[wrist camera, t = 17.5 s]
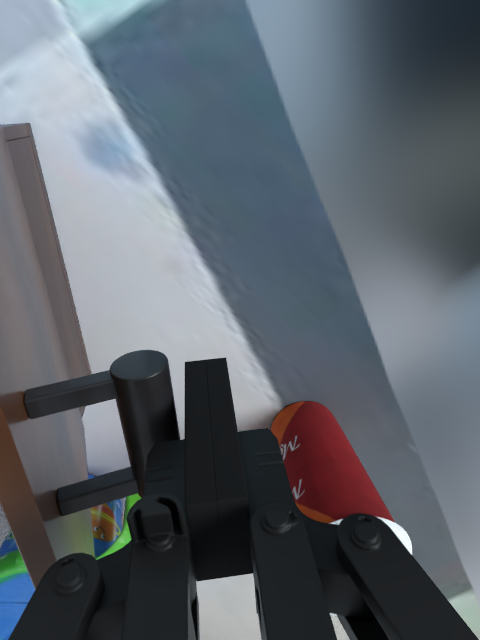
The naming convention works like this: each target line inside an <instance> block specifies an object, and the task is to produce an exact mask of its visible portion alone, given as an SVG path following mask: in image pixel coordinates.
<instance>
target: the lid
mask: <svg viewBox="0 0 480 640" xmlns="http://www.w3.org/2000/svg"><path fill="white" fill-rule="evenodd" d="M115 398H116V402H117V407H118V411H119V416H120V420H121V425H122V429H123V434H124V438H125V442H126V447H127V451H128V456H129V460H130V465H131V467H128V468H125V469H121V470H118V471H114V472H111V473H108V474H104V475H101V476H97V477H94V478H91V479H88V468H87V456H86V444H85V432H84V426H83V422H82V419H81V415H80V411H79V407H83V406H87V405H91V404H95V403H99V402H103V401H107V400H111V399H115ZM175 440H180V434H179V428H178V421H177V415H176V409H175V402H174V396H173V389H172V383H171V376H170V370H169V363H168V359H167V357H166V356H165V355H164V354H163V353H161V352H158V351H154V350H140V351H134V352H131V353H128V354H125V355H123V356H121V357H119V358H118V359H116V360H115V361H114V362H113V363H112V365H111V367H110V370H108V371H104V372H100V373H95V374H91V375H87V376H82V377H78V378H74V379H71V378H70V374H69V370H68V367H67V363H66V359H65V356H64V352H63V348H62V345H61V341H60V337H59V333H58V330H57V326H56V322H55V319H54V315H53V311H52V307H51V304H50V300H49V296H48V293H47V289H46V285H45V282H44V278H43V274H42V270H41V267H40V263H39V259H38V256H37V252H36V248H35V244H34V241H33V237H32V233H31V230H30V226H29V222H28V219H27V215H26V211H25V207H24V204H23V200H22V196H21V193H20V189H19V185H18V181H17V178H16V174H15V170H14V167H13V163H12V159H11V156H10V152H9V148H8V144H7V141H6V137H5V133H4V130H3V127H0V505H1V508H2V510H3V513H4V515H5V517H6V520H7V522H8V525H9V527H10V530H11V532H12V535H13V537H14V539H15V542H16V544H17V547H18V549H19V552H20V554H21V557H22V559H23V561H24V564H25V566H26V569H27V571H28V574H29V576H30V579H31V581H32V583H33V586H34V588H35V590H36V588H37V586H38V584H39V582H40V580H41V579H42V577H43V575H44V574H45V573H46V571H47V570H48V569H49V567H50V566H51V565H53V564H54V563H55V562H56V561H58V560H59V559H60V558H63V557H65V556H67V555H70V554H73V553H82V552H83V553H86V554H90V555H92V556H93V557H94V558H95V552H94V540H93V528H92V516H91V508H92V507H95V506H98V505H102V504H105V503H108V502H111V501H114V500H118V499H121V498H124V497H127V496H131V495H134V494H137V493H138V495H139V496H140V497H141V498H143V490H144V482H145V472H146V462H147V455H148V453H149V452H150V450H151V449H152V447H153V446H154V444H155V443H158V442H167V441H175Z"/></svg>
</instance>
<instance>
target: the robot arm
mask: <svg viewBox="0 0 480 640" xmlns="http://www.w3.org/2000/svg"><path fill="white" fill-rule="evenodd" d="M126 519H127V523H128V527H129V532H130V536H131V541H130V542H129V543H128V544H126V545H125V546H124V547H123V548H121V549H119V550H117V551H116V552H114V553H111V554H109V555H107V556H104V557H102V558H100V559H98V560H96V559H95V558H94V557H93V556H92V555H90V554H86V553H83V552H82V553H73V554H70V555H67V556H65V557H63V558H60V559H59V560H58V561H56V562H55V563H54V564H53V565H51V566H50V567H49V569H48V570H47V571H46V573H45V574H44V575H43V577H42V579H41V580H40V582H39V584H38V586H37V588H36V590H35V591H34V593H33V595H32V597H31V599H30V600H29V602H28V604H27V606H26V608H25V610H24V611H23V613H22V615H21V617H20V619H19V621H18V622H17V624H16V626H15V628H14V630H13V632H12V633H11V635H10V637H9V639H8V640H200V638H199V603H198V597H197V591H196V580H197V581H202V580H209V579H216V578H223V577H230V576H237V575H244V574H251V573H253V575H254V583H255V596H256V609H257V613H258V617H259V624H260V631H261V639H262V640H337V638H336V634H335V631H334V627H333V623H332V620H331V616H330V613H332V614H337V617H338V618H339V620H340V622H341V624H342V626H343V628H344V629H345V631H346V633H347V635H348V637H349V639H350V640H479V639H478V638H477V637H476V636H475V634H474V633H473V632H472V631H471V629H470V628H469V627H468V626H467V624H466V623H465V622H464V620H463V619H462V618H461V617H460V615H459V614H458V613H457V612H456V610H455V609H454V608H453V607H452V605H451V604H450V603H449V602H448V600H447V599H446V598H445V596H444V595H443V594H442V593H441V591H440V590H439V589H438V588H437V586H436V585H435V584H434V583H433V581H432V580H431V579H430V577H429V576H428V575H427V574H426V572H425V571H424V570H423V569H422V567H421V566H420V565H419V564H418V562H417V561H416V560H415V559H414V557H413V556H412V555H411V553H410V552H409V551H408V550H407V548H406V547H405V546H404V545H403V543H402V542H401V541H400V540H399V538H398V537H397V536H396V535H395V533H394V532H393V531H392V529H391V528H390V527H389V526H388V525H387V524H386V523H385V522H384V521H382V520H381V519H379V518H377V517H375V516H373V515H370V514H364V513H357V514H351V515H349V516H347V517H346V518H344V519H342V521H341V522H340V524H339V525H336V524H329V523H323V522H319V521H315V520H313V519H311V518H309V517H307V516H306V515H305V514H303V513H302V512H301V511H300V510H299V508H298V507H297V506H296V503H295V501H294V498H293V494H292V490H291V487H290V483H289V479H288V476H287V472H286V468H285V465H284V462H283V457H282V454H281V450H280V446H279V443H278V439H277V437H276V436H275V435H274V434H273V433H272V432H271V431H270V430H269V429H268V428H265V429H257V430H248V431H240V432H238V431H237V425H236V418H235V412H234V406H233V399H232V393H231V387H230V380H229V374H228V368H227V361H226V358H218V359H209V360H200V361H191V362H185V439H183V440H175V441H167V442H158V443H155V444H154V446H153V447H152V449H151V450H150V452H149V453H148V455H147V462H146V472H145V482H144V490H143V498H141V499H140V500H138V501H136V503H135V504H134V505H133V506H132V507H131V508H130V510H129V512H128V515H127V518H126Z"/></svg>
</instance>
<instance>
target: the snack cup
mask: <svg viewBox="0 0 480 640" xmlns="http://www.w3.org/2000/svg"><path fill="white" fill-rule="evenodd" d="M94 477H96V476H93V475H90V474H88V479H91V478H94ZM140 499H141V497H140V496H139V495H138V493H137V494H134V495H131V496H127V497H126V503H125V511H124V519H123V513H122V503H121V500H120V499H118V500H114V501H111V502H108V503H105V504H102V505H98V506H95V507H92V508H91V516H92V528H93V540H94V552H95V559H96V560H98V559H100V558H102V557H104V556H107V555H109V554H111V553H114V552H116V551H117V550H119V549H121V548H123V547H124V546H125V545H126V544H128V543H129V542H130V541H131V536H130V532H129V527H128V523H127V519H126V518H127V515H128V512H129V510H130V508H131V507H132V506H133V505H134V504H135V503H136V501H138V500H140ZM34 591H35V588H34V586H33V583H32V581H31V579H30V576H29V574H28V571H27V569H26V566H25V564H24V561H23V559H22V557H21V554H20V552H19V549H18V547H17V544H16V542H15V539H14V537H13V535H12V532H11V530H10V532H9V534H8V535H7V537H6V538H5V540H4V542H3V543H2V546H1V548H0V640H8V639H9V637H10V635H11V633H12V632H13V630H14V628H15V626H16V624H17V622H18V621H19V619H20V617H21V615H22V613H23V611H24V610H25V608H26V606H27V604H28V602H29V600H30V599H31V597H32V595H33V593H34Z"/></svg>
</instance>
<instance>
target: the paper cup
mask: <svg viewBox="0 0 480 640" xmlns="http://www.w3.org/2000/svg"><path fill="white" fill-rule="evenodd" d="M271 432H272V433H273V434H274V435H275V436H276V437H277V439H278V443H279V446H280V450H281V454H282V457H283V462H284V465H285V468H286V472H287V476H288V479H289V483H290V487H291V490H292V494H293V498H294V501H295V503H296V506H297V507H298V508H299V510H300V511H301V512H302V513H303V514H305V515H306V516H307V517H309V518H311V519H313V520H315V521H319V522H323V523H329V524H336V525H339V524H340V522H341V521H342V519H344V518H346V517H347V516H349V515H351V514H357V513H364V514H370V515H373V516H375V517H377V518H379V519H381V520H382V521H384V522H385V523H386V524H387V525H388V526H389V527H390V528H391V529H392V531H393V532H394V533H395V535H396V536H397V537H398V538H399V540H400V541H401V542H402V543H403V545H404V546H405V547H406V548H407V550H408V551H409V552H410V553H411V555H412V544H411V540H410V538H409V536H408V534H407V533H406V531H405V530H404V529H403V528H402V527H401V526H399V525H398V524H396V523H395V522H394V520H393V518H392V516H391V515H390V513H389V511H388V509H387V508H386V506H385V504H384V502H383V501H382V499H381V497H380V495H379V493H378V492H377V490H376V488H375V486H374V485H373V483H372V481H371V479H370V478H369V476H368V474H367V472H366V471H365V469H364V467H363V465H362V464H361V462H360V460H359V458H358V457H357V455H356V453H355V451H354V450H353V448H352V446H351V445H350V443H349V441H348V439H347V438H346V436H345V434H344V432H343V431H342V429H341V427H340V426H339V424H338V422H337V421H336V419H335V418H334V416H333V415H332V413H331V412H330V411H329V409H328V408H326V407H325V406H324V405H322V404H320V403H317V402H312V401H302V402H297V403H294V404H291V405H289V406H287V407H286V408H284V409H283V410H281V411H280V412H279V413H278V414H277V416H276V417H275V419H274V421H273V423H272V427H271ZM330 616H335V617H337V614H332V613H330Z"/></svg>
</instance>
